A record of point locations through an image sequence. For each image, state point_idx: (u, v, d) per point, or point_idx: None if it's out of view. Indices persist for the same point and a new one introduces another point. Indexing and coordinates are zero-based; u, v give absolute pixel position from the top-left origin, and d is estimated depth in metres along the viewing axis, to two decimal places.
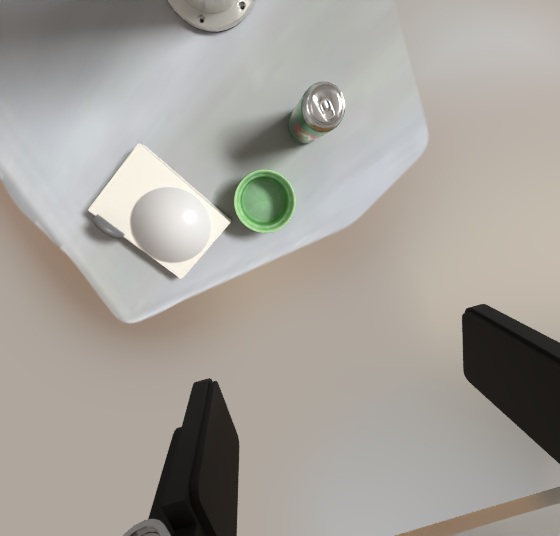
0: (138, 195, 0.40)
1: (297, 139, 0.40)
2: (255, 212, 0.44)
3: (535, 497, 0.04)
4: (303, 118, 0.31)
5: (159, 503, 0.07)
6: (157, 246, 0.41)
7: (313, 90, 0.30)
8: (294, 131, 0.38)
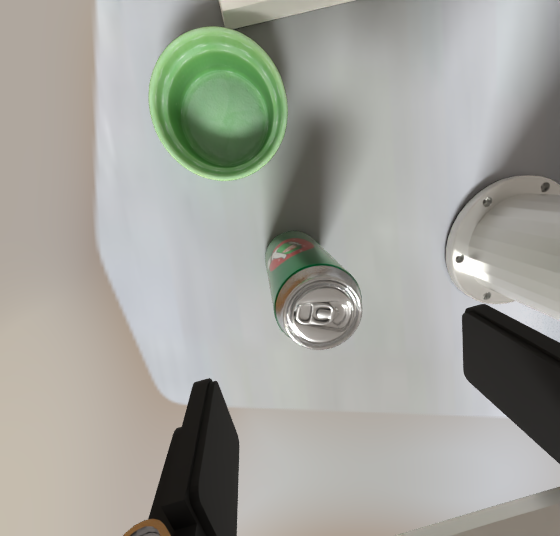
0: None
1: (283, 236, 0.24)
2: (213, 89, 0.21)
3: (535, 497, 0.04)
4: (325, 264, 0.15)
5: (159, 503, 0.07)
6: None
7: (358, 306, 0.15)
8: (299, 237, 0.22)
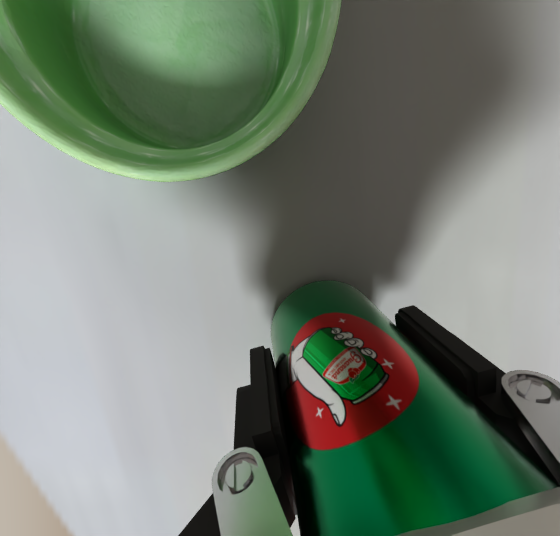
0: None
1: (308, 297, 0.11)
2: None
3: (535, 497, 0.04)
4: None
5: (240, 441, 0.08)
6: None
7: None
8: (351, 312, 0.09)
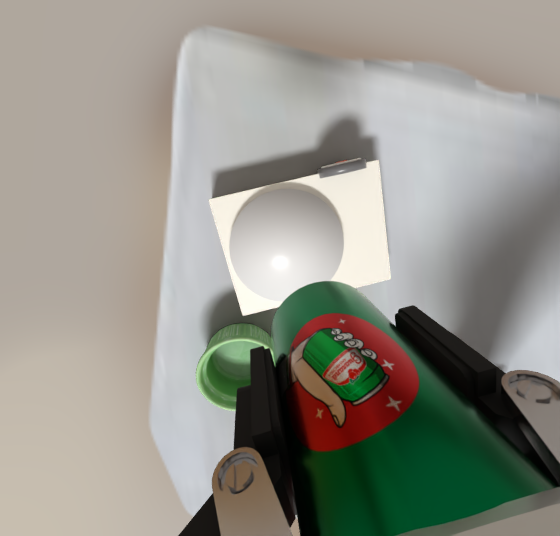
0: (347, 235, 0.27)
1: (308, 297, 0.11)
2: None
3: (535, 497, 0.04)
4: None
5: (240, 441, 0.08)
6: (276, 209, 0.25)
7: None
8: (351, 313, 0.09)
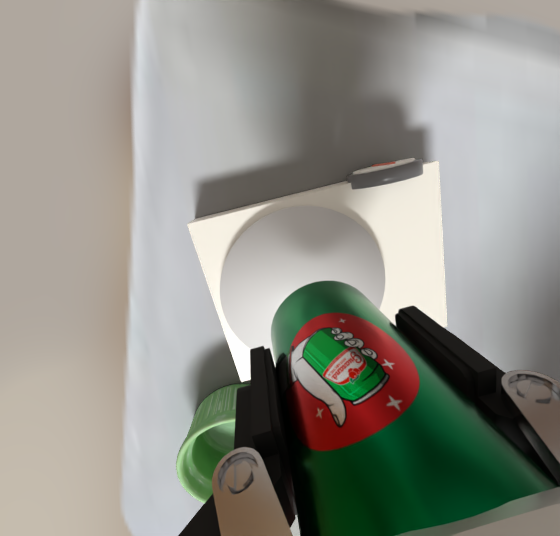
0: (389, 270, 0.19)
1: (308, 297, 0.11)
2: None
3: (535, 497, 0.04)
4: None
5: (240, 441, 0.08)
6: (288, 236, 0.17)
7: None
8: (351, 312, 0.09)
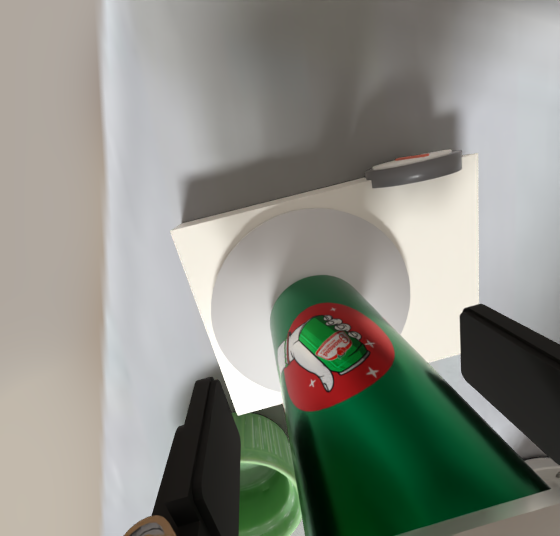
0: (414, 284, 0.16)
1: (304, 289, 0.13)
2: None
3: (535, 497, 0.04)
4: None
5: (162, 500, 0.07)
6: (294, 246, 0.14)
7: None
8: (342, 302, 0.11)
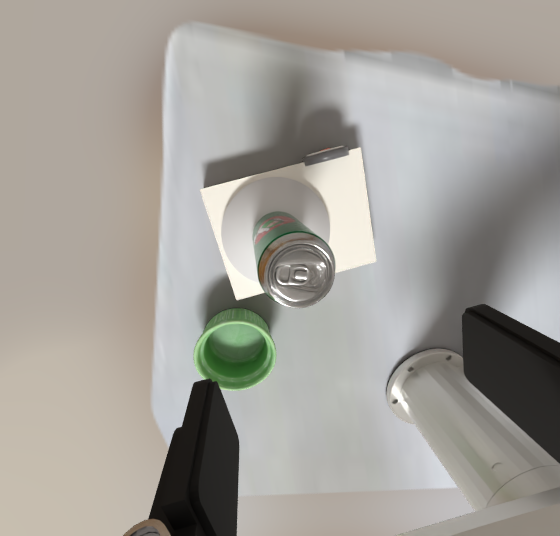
0: (333, 221, 0.29)
1: (268, 215, 0.25)
2: (229, 323, 0.33)
3: (535, 497, 0.04)
4: (302, 231, 0.17)
5: (159, 503, 0.07)
6: (264, 197, 0.27)
7: (331, 268, 0.17)
8: (282, 215, 0.24)
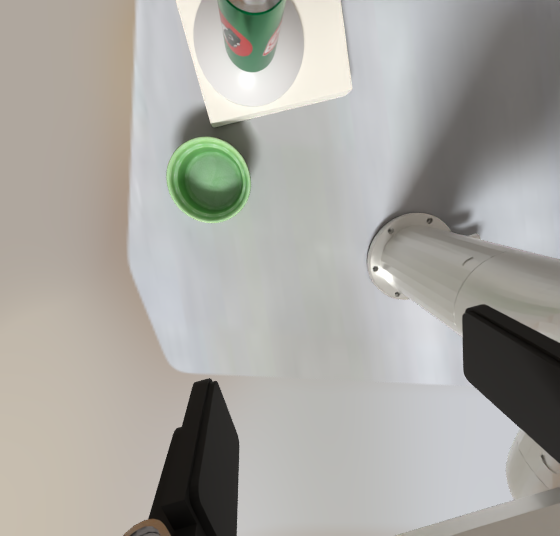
0: (307, 36, 0.29)
1: None
2: (206, 162, 0.33)
3: (535, 497, 0.04)
4: None
5: (159, 503, 0.07)
6: None
7: None
8: None
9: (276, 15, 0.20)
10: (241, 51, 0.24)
